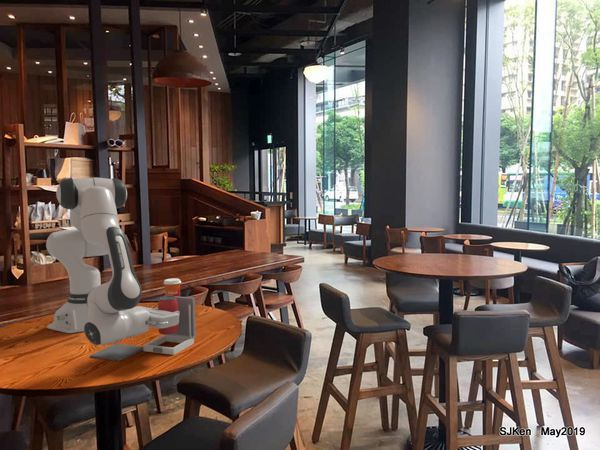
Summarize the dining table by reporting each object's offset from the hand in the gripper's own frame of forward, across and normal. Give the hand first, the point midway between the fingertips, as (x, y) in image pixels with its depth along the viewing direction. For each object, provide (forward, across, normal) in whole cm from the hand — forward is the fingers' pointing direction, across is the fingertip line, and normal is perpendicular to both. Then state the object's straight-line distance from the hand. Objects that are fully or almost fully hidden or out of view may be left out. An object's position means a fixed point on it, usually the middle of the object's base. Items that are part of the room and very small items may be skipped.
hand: (170, 311), depth 161 cm
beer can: (-1, 0, +7) cm, 7 cm away
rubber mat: (-14, +10, +12) cm, 21 cm away
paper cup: (+35, +37, +12) cm, 52 cm away
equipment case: (-1, 0, +12) cm, 12 cm away
